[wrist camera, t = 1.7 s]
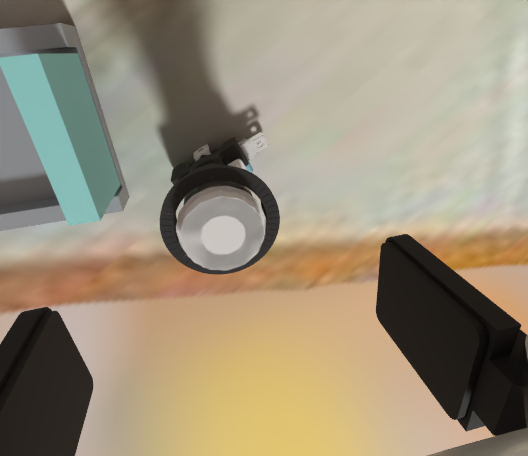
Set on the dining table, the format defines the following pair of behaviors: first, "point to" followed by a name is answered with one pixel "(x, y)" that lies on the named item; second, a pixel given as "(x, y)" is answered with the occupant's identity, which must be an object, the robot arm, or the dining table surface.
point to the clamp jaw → (64, 131)
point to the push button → (220, 210)
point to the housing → (19, 140)
